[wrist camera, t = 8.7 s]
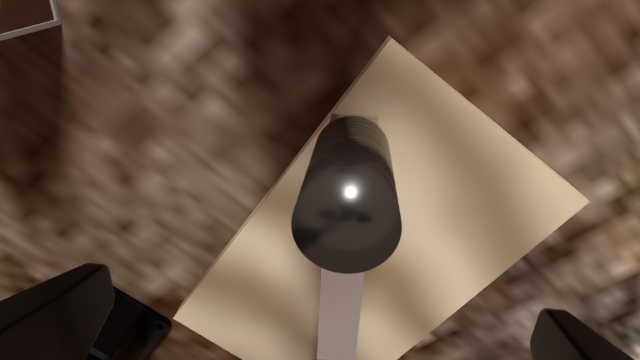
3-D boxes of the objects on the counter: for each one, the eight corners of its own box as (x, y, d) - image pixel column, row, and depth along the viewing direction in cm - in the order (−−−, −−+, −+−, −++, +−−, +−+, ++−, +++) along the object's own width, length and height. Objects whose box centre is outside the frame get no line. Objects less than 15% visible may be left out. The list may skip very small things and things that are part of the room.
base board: (333, 392, 28) (331, 416, 27) (182, 301, 26) (171, 320, 24) (574, 187, 20) (591, 203, 19) (388, 35, 18) (391, 39, 17)
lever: (361, 401, 26) (360, 567, 18) (304, 394, 26) (280, 556, 18) (397, 105, 18) (420, 183, 10) (315, 99, 18) (280, 173, 11)
